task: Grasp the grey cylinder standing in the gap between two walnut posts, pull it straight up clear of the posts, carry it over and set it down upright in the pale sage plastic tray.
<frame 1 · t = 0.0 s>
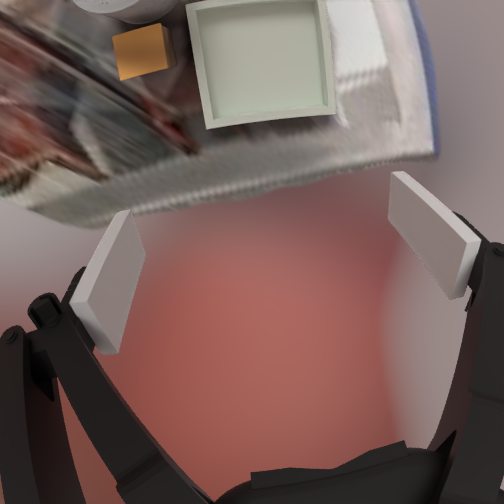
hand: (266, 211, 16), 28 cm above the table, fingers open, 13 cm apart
tray: (262, 56, 35), on the table
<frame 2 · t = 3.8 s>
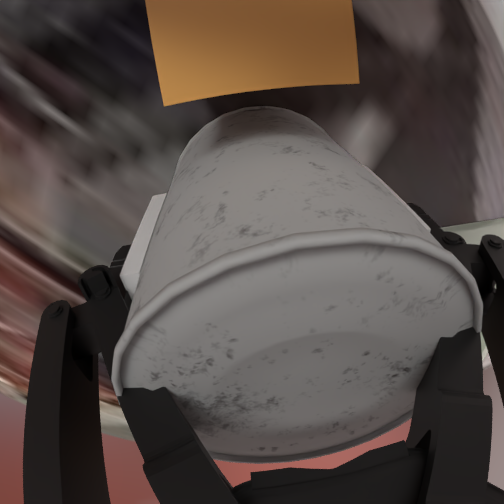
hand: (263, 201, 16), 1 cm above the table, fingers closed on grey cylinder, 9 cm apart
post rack: (261, 193, 17), on the table
tray: (429, 308, 24), on the table
grey cylinder: (261, 191, 18), on the table, touching gripper
when the fingers open (3 cm above the table, at t = 10.5 s): grey cylinder drops 1 cm, resting on tray.
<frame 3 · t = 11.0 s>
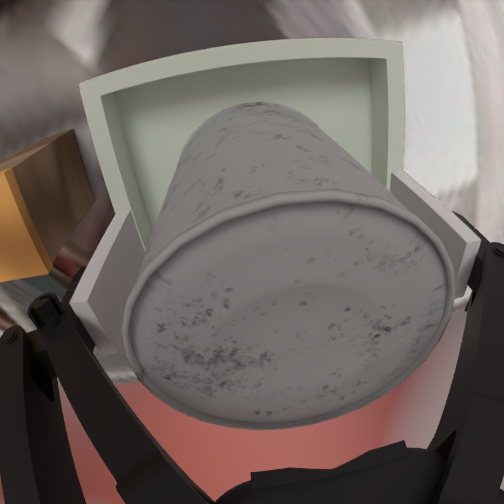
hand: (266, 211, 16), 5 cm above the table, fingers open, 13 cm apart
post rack: (20, 48, 13), on the table
tray: (257, 177, 19), on the table
grey cylinder: (258, 181, 19), point 1 cm above the table, touching tray
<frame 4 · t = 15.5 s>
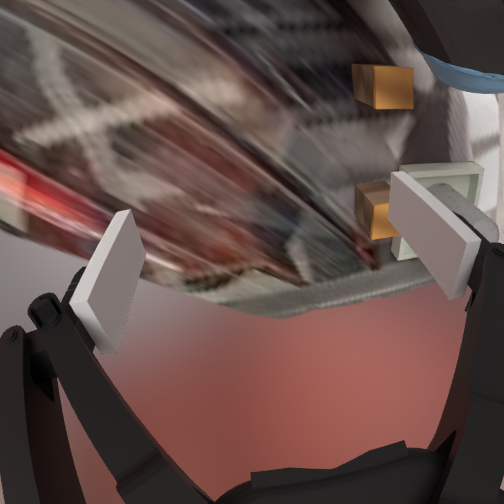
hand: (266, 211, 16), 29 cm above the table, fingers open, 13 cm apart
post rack: (370, 141, 43), on the table
tray: (434, 206, 49), on the table
grey cylinder: (436, 207, 49), point 1 cm above the table, touching tray
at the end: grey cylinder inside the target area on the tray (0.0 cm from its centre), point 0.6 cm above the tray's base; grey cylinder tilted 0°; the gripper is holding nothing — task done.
